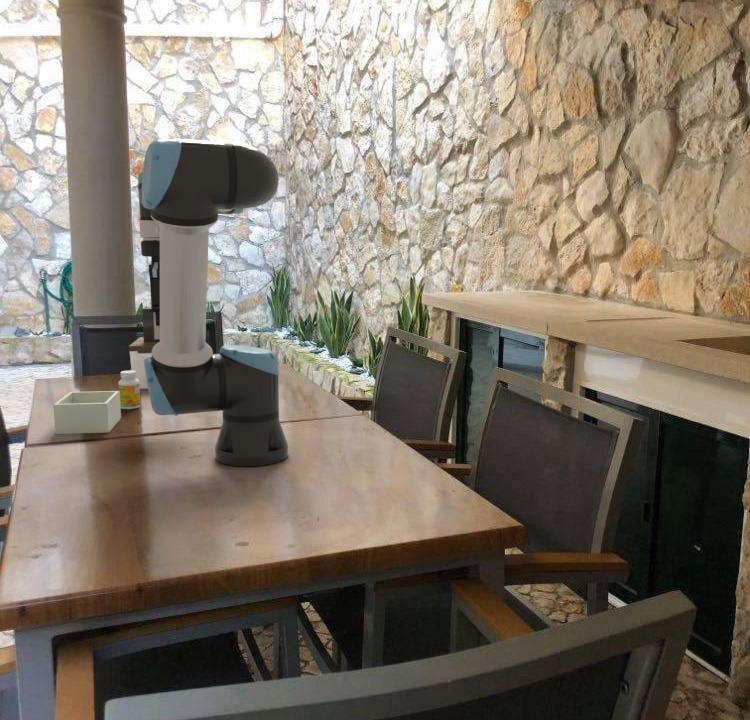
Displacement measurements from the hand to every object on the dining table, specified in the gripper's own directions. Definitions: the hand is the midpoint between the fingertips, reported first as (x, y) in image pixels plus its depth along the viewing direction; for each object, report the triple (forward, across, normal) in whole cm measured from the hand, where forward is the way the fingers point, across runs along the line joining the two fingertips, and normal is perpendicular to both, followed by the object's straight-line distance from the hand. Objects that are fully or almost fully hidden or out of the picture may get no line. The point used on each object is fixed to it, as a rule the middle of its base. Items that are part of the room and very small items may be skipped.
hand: (161, 337), depth 181 cm
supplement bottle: (+22, +19, +12) cm, 31 cm away
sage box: (+21, 0, +18) cm, 28 cm away
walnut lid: (+2, 0, 0) cm, 2 cm away
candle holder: (+22, +47, +12) cm, 53 cm away
